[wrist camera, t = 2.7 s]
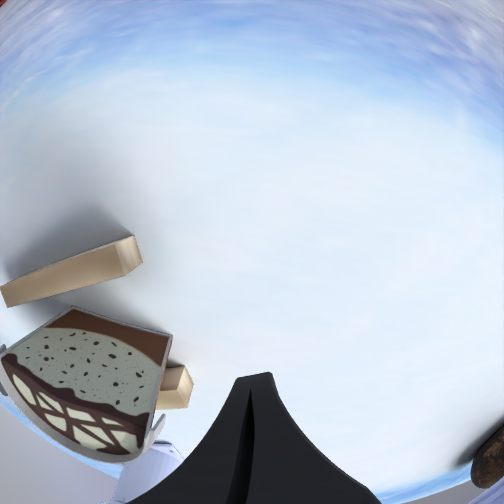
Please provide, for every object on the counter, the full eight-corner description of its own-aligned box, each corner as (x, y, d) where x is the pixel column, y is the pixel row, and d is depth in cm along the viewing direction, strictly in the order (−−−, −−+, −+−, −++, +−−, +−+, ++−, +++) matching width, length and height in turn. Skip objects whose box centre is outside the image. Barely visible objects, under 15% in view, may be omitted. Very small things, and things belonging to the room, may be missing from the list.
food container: (68, 356, 20) (13, 418, 11) (60, 301, 19) (-14, 357, 9) (186, 394, 21) (160, 487, 11) (191, 339, 20) (156, 442, 10)
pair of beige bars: (193, 383, 21) (187, 408, 18) (74, 388, 21) (62, 405, 19) (134, 235, 18) (114, 244, 15) (19, 276, 18) (-1, 287, 16)
